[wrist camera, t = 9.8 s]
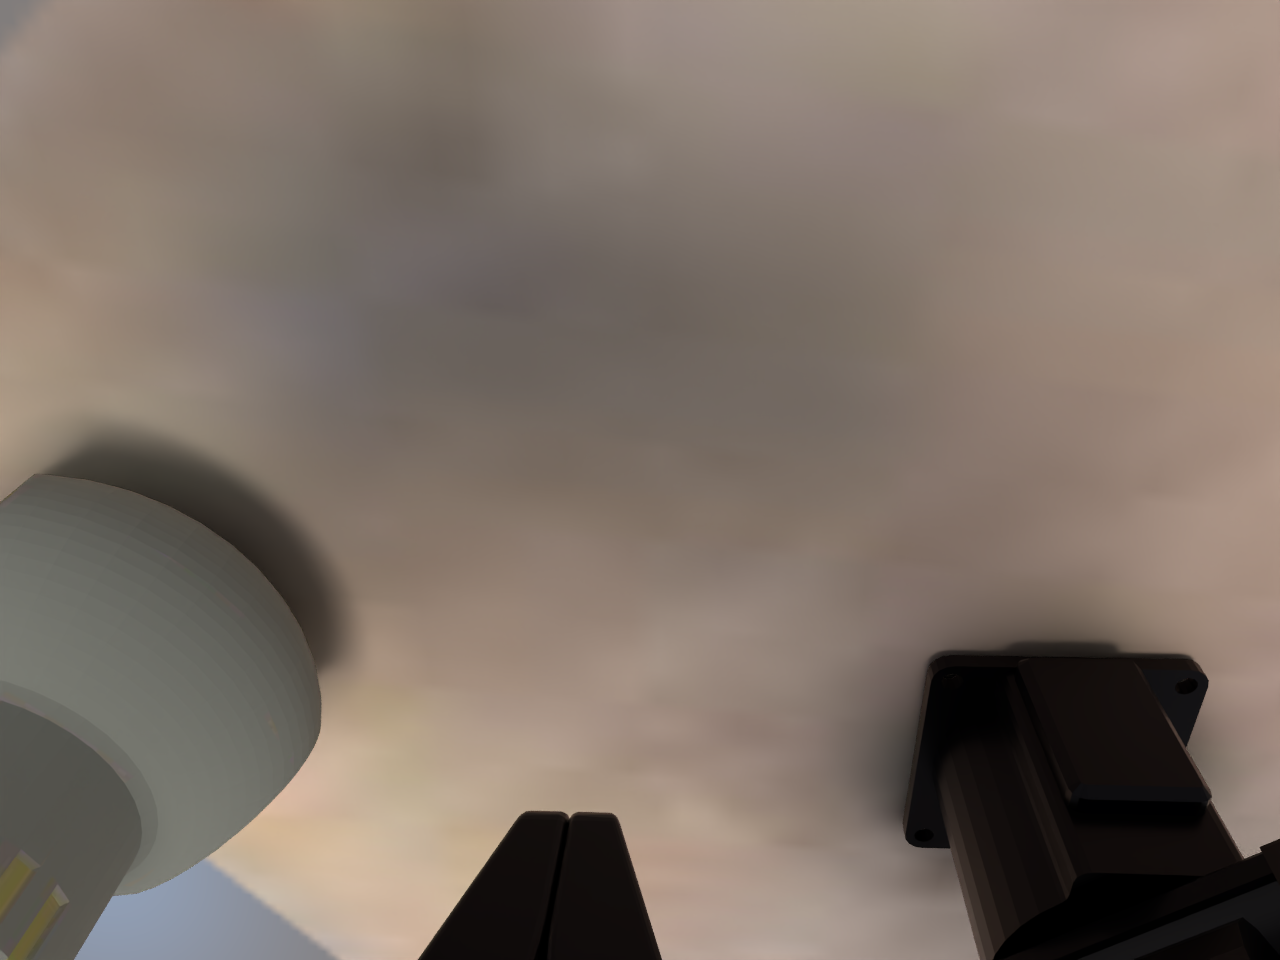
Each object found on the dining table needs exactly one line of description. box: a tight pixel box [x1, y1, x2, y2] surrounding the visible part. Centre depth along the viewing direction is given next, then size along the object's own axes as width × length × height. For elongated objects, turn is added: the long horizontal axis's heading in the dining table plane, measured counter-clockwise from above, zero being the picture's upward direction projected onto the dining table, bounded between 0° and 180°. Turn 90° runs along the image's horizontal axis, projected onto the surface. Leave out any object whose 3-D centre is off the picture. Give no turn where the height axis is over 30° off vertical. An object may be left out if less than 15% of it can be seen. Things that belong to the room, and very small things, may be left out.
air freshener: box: [0, 474, 322, 960], centre depth 20 cm, size 11×8×10 cm
